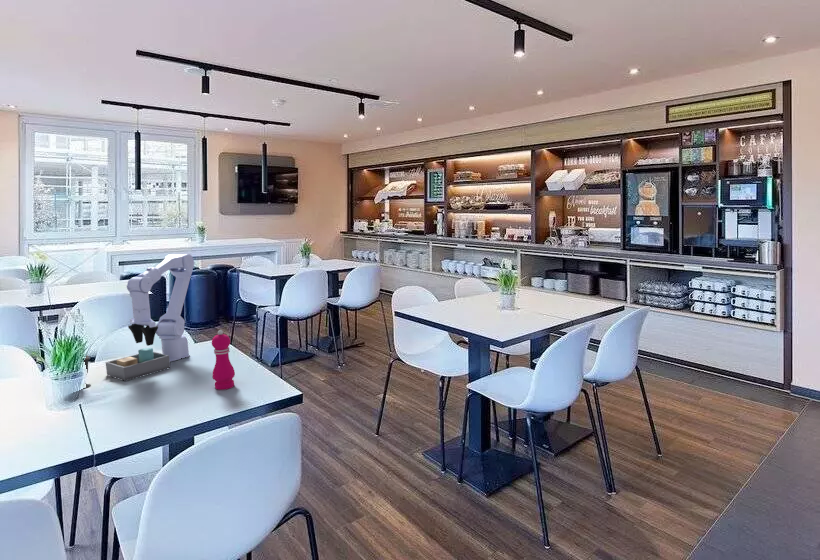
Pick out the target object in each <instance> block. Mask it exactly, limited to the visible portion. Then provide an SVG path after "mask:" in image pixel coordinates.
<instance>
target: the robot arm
mask: <svg viewBox="0 0 820 560" xmlns="http://www.w3.org/2000/svg"><path fill="white" fill-rule="evenodd" d="M194 267H195V261H194V257H193V255H192V254H191V253H180V254H179V253H178V254H175V253H169V254H167V255H166V256H164V258H163V260H162V261H160V263H159V264H157V265H156V266H155V267H153V266H151V267H149V266H148V267H146V270H145V271H143V272H142V273H139V274H138V275H137V276H136V277H135V276H133V277H131V278H130V279H128V281H127V285H126V290H127V291H128V292H129V296H130V297H131V303H132V304H131V306H132V316H133V318H129V322H130V325H128V326H127V328H128V329H129V330H130V332H131V334H132V336H133V339H134V342H135V343H136V344H140V343H143V341H145V344H146V346H152V345H154V341H155V335H157V337H158V338H159V339H160V343H161V352H162V353H161V354H165V355H169V360H170V363H172V362H174V361H177V360H182V359H185V357H186V358H188V357H189V358H190V357H191V354H189V353H190V351H189V342H188V338H187V336H185V335H184V333H185V324H186V321H185V319H184V318H183V317H182V316H181V314H182V311H183V306H184V302H185V299H186V295H187V292H188V288H189V284H190V280H191V276H192V273H193V269H194ZM168 271H169V272H170V274H171V275H172V276H174V277H175V281H174V285H173V288H172V292H171V295H170V298H169V303H168V305H167V310H166V313H164V314H163V315H161V316H160V317H159V319H158V322H157V323H156V321H154V320H153V319H152V318H151V317H152V316H151V308H150V305H151V304H150V297H149V295H150V294H149V292H150V291H151V290H152V287H153V286H154V284H156V283H157V282H158V281H160V280H161V278H162V275H163V274H164V273H166V272H168ZM143 335H144V336H143ZM143 337H144V338H143ZM144 339H145V340H144ZM181 358H182V359H181Z"/></svg>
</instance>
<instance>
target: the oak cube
mask: <svg viewBox="0 0 820 560" xmlns="http://www.w3.org/2000/svg"><path fill="white" fill-rule="evenodd" d="M126 357H127V358H124V357H122V358H123V359H120V358H118V359H119V360H117V365H119V366H123V367H127V366H130V365H134V364H138V361H137V358H133V357H128V356H126Z"/></svg>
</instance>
